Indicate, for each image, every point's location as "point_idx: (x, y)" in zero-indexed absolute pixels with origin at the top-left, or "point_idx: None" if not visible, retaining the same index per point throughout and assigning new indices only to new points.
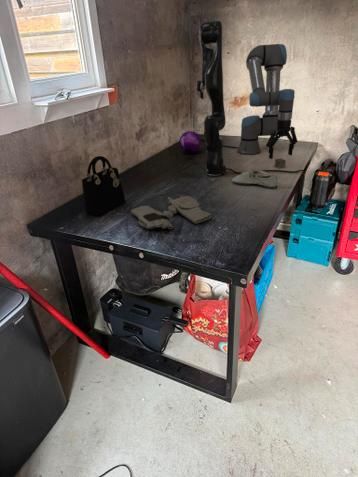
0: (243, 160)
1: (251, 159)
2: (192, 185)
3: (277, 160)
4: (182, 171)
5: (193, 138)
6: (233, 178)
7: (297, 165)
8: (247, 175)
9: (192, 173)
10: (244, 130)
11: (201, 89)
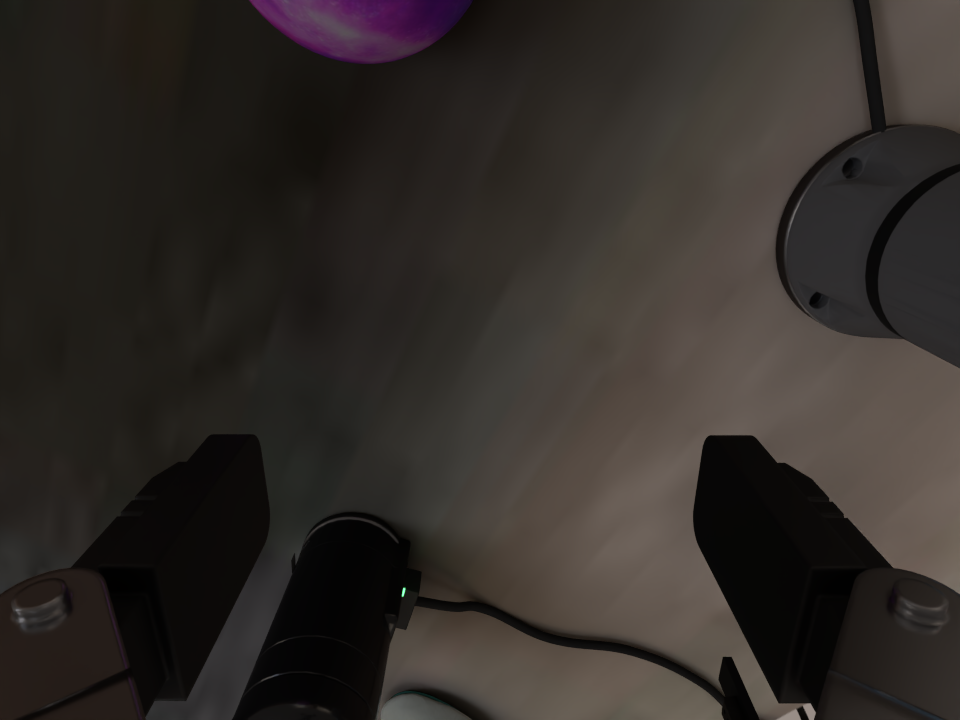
0: (674, 415)
1: (738, 424)
2: None
3: None
4: (168, 418)
5: (350, 33)
6: (389, 715)
7: None
8: None
9: None
10: (939, 318)
11: (45, 704)
